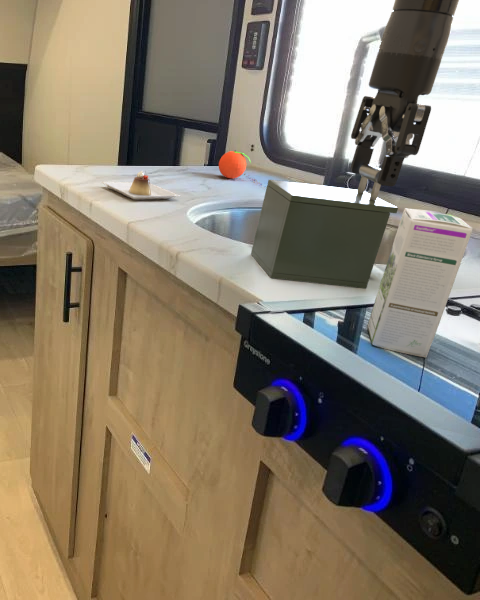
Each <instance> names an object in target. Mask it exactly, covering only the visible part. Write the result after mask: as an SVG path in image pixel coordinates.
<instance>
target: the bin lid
mask: <svg viewBox="0 0 480 600" xmlns="http://www.w3.org/2000/svg"><path fill="white" fill-rule="evenodd" d="M380 170H381V167H377V166H374V165H373V164H370V163H369V164H364V165H362V166H361V167H360V169H359V174H358V175H360V176H361V178H360V180H359V184H358V186H357V187H358V188H357V189H353V188H345V187H337V186H328V185H320V184H312V183H303V182H296V181H295V182H294V181H286V180H278V179H268V180H267V185H269V186H270V187H272V188H273V189H274V190H276V191H277V192H279V193H280V194H281V195H283V196H284V197H286V198H287V199H288V200H290V201H294V202H302V203H311V204H319V205H328V206H336V207H345V208H354V209H362V210H371V211H379V212H388V213H390V214H397V213H398V210H399V207H397V206H395V205H393V204H391V203H389V202H388V201H385V200H383V199H381V198H379V197H378V196H379V193H380V189H381V186H382V185H380V184H378V183H377V180H378V177H379V173H380ZM368 180H369V181H372V182H374V183H373V186H372V188H371V191H370V193H369V192H368V191H366V187H367V183H368Z"/></svg>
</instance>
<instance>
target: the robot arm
mask: <svg viewBox="0 0 480 600" xmlns="http://www.w3.org/2000/svg"><path fill="white" fill-rule="evenodd" d="M459 1H460V0H394V3H393V6H392V10H391V12H390V16H389V19H388V21H387V22H386V26H385V28H384V31H383V33H382V37H381V40H380V44H379V47H378V51H377V53H376V57H375V60H374V64H373V67H372V70H371V75H370V78H369V80H368V87H369V88H370V89H372V90H373V89H374V90H377V93H376V95H375V96H367V95H365V96H363V97H362V100H361V101H360V106H359V109H358V112H357V115H356V119H355V122H354V124H353V128H352V131H351V134H350V138H351V139H352V140H354V144H355V145H356V147H355V150H354V155H353V157H352V160H351V164H350V168H349V171H350V173H353V174H357V175H360V174H359V169H360V167H361V166H362V165H364V164H370V163H371V159H372V157H373V154H374V148H373V147H375V145H376V144H377V143H378V142H379V140H380V139H382V141H384V142H385V155H384V158H383V161H382V164H381V167H380V169H381V170H380V173H379V177H378V180H377V183H378V184H380V185H381V186H383V187H394V186H396V184H397V181H398V179H399V175H400V172H401V170H402V167H403V164H404V161H405V159H407V158H409V156H417V155H418V153H419V151H420V149H421V145H422V142H423V139H424V135H425V133H426V132H425V131H426V128H427V125H428V122H429V118H430V115H431V112H432V106H431V105H429V104H428V105H427V104H421V103H418V101H419V97H420V96H428V95H430V94H431V93H432V90H433V87H434V85H435V80H436V78H437V75H438V72H439V69H440V66H441V63H442V60H443V57H444V53H445V51H446V49H447V45H448V42H449V39H450V35H451V30H452V25H453V21H454V16H455V13H456V11H457V8H458V4H459ZM410 140H412V142H411V143H410Z"/></svg>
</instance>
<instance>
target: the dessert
mask: <svg viewBox="0 0 480 600" xmlns="http://www.w3.org/2000/svg"><path fill="white" fill-rule="evenodd" d="M144 172H145V173H147V171H146V170H144ZM144 172H143V170H140V171H139V172H137V174H136V176H135V177H134V178H133V180H132V181H101V184H103V185H104V186H106V187H107V188H108V189H110V190H112V191H114V192H116V193H118V194H120V195H123V196H125V197H127V198H129V199H131V200H134V201H139V200H140V201H143V200H145V201H146V200H172V199H176V198H180V197H181V195H180V194H178V193H175V192H172V191H170V190H169V189H166V188H164V187H161V186H158V185H156V184H154V183H151V181H150V178H149V175H147V174H144Z"/></svg>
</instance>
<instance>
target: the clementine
mask: <svg viewBox="0 0 480 600" xmlns="http://www.w3.org/2000/svg"><path fill="white" fill-rule="evenodd" d="M246 158H248V160H249V163H250V164H252V162H251V159H250V157H249V156H248V155H247V154H245V153H243V152H240V151H237V150H234V151H233V150H229V151H227V152H225V153H224V154H223V155H222V156H221V158H220V159H219V161H218V170H219V172H220V174H221V175H222V176H223V177H224V178H226V179H231V180H234V179H237V178H240V177H241V176H242V175H243V174H244V173H245V171H246V168H247V160H246Z"/></svg>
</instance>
